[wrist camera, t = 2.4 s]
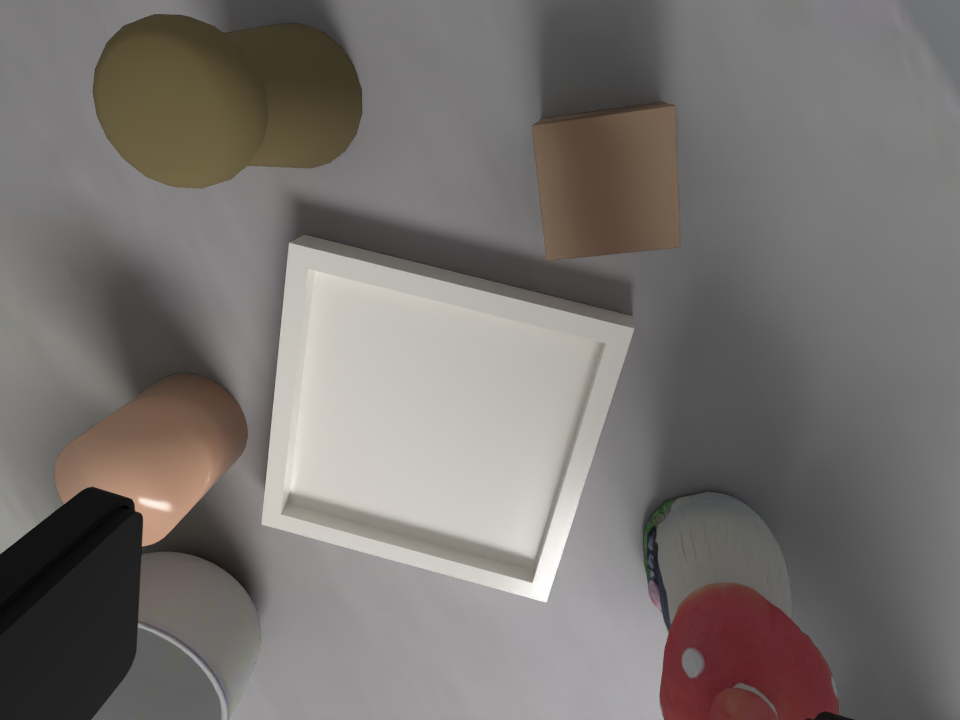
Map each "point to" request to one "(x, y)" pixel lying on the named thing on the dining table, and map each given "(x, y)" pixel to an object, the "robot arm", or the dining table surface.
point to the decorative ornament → (729, 617)
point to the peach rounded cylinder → (158, 450)
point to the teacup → (187, 643)
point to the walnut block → (608, 181)
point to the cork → (224, 98)
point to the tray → (435, 414)
